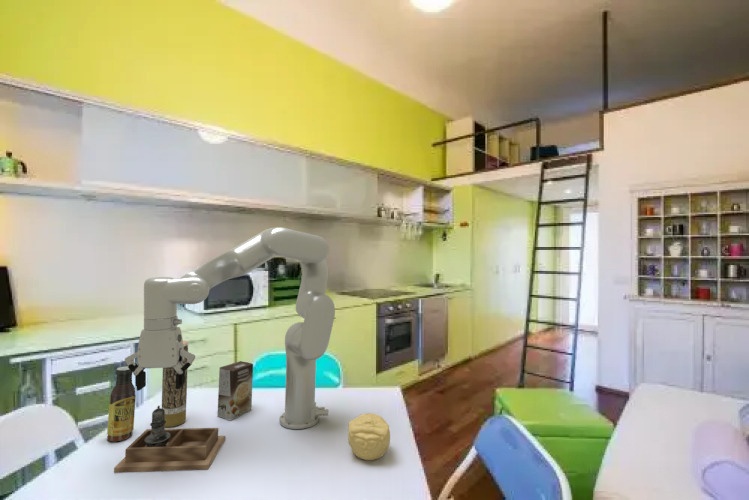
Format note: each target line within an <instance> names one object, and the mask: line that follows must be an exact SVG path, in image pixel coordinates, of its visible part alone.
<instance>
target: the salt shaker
mask: <svg viewBox="0 0 749 500" xmlns="http://www.w3.org/2000/svg"><path fill="white" fill-rule="evenodd" d="M164 418H165V411H164V409H162V407H161V406H160V405H157V406H156V409H154V410H153V411H152V413H151V423H150V424H149V426H151V428H150V429H151V435H149V436H147V437H146V438H145V442H146V445H147V447H166V446H167V445H166V444H167V442H168V440H169V437H170V433H169V432H165V429H166V427H165V423H166V421H165V420H164Z"/></svg>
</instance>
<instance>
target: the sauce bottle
mask: <svg viewBox="0 0 749 500" xmlns="http://www.w3.org/2000/svg"><path fill="white" fill-rule="evenodd" d="M115 371H116V372H115V374H116V380H115V386H114V387H113V388H112V391H111V392H110V399H109V402H108V403H109V404H108V417H107V418H108V419H107V431H106V435H107V437H106V438H107V441H108V442H111V443H112V442H120V441H124V440H127V439H128V438H131V437H132V435H133V430H134V429H135V428H134V427H135V426H134V424H135V410H136V409H135V408H136V399H137V398H136V396H137V395H136V386H135V385H134V384H133V372H132V371H131V370H130V369H129V368H128V365H127V366H120V367H117V368H116V370H115Z"/></svg>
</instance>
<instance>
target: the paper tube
mask: <svg viewBox="0 0 749 500" xmlns="http://www.w3.org/2000/svg"><path fill="white" fill-rule="evenodd" d="M183 347H184V350H185V351H187V352H189V341H187V340H183ZM186 362H187V358H184V360H183V361H182V363H183V364H184V365H185V364H186ZM176 374H178V372H177V371H176V370H175V369H174V368H173V367H169V368H162V378H161V379H162V382H161V383H162V385H161V408H162V409H164V411H165V418H164V420H165V421H166V423H165V428H174V427H177V426H180V425H182V424H183V423H184V422H185V421H186V420H187V419H186V418H187V396H188V395H187V394H188V393H187V391H188V369H187V370H186V371H185V383H184V384H183V386H182V387H181V388H180V389H176Z"/></svg>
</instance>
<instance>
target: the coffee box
mask: <svg viewBox="0 0 749 500" xmlns="http://www.w3.org/2000/svg"><path fill="white" fill-rule="evenodd" d="M218 373H219V377H218V395H217V397H218V398H217V413H216V415H217V417H219V418H222V419H224V420H228V421H232V420H234V419H236V418H238V417H240V416H242V415H244V414H247V413H249V412H250V411H252V405H253V404H252V402H253V401H252V400H253V377H254V376H253V374H254V363H251V362H246V361H242V360H239V361H237V362H233V363H230V364H227V365H224V366H220V367H219V372H218Z"/></svg>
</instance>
